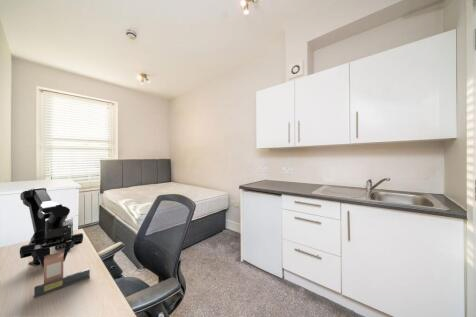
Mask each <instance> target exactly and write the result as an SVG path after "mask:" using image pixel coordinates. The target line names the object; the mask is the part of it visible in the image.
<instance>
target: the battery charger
mask: <svg viewBox="0 0 476 317" xmlns="http://www.w3.org/2000/svg"><path fill="white" fill-rule="evenodd" d="M69 238H71V227H69V226H68V233H65V234H64V238H63V240H65V239H69ZM54 249H55V250H59V249H65V244H63V245H59V246H55V247H54Z"/></svg>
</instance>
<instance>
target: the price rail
mask: <svg viewBox="0 0 476 317" xmlns="http://www.w3.org/2000/svg"><path fill="white" fill-rule="evenodd" d="M90 271H91V270H90V268H87V269H84V270H81V271H78V272H75V273H73V274H69V275H66V276H63V278H60V279H57V280H54V281H51V282H48V283H45V284H44V283H43V284H39V285H36V286H34V289H33V298H34V299H35V298H38V297H40V296H43V295H46V294H49V293H51V292H54V291H57V290H59V289H63V288H65V287H67V286H71V285H73V284H76V283H80V282H81V281H85V280H87V279H90V278H91V277H90V276H91V275H90V274H91V272H90Z"/></svg>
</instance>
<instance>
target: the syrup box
mask: <svg viewBox="0 0 476 317" xmlns="http://www.w3.org/2000/svg"><path fill="white" fill-rule="evenodd" d="M65 225H68V226H69V227H71V235H74V218H73V217H71V216H70V217H69V216H67V218H66V220H65V221H64V222H63V226H65Z"/></svg>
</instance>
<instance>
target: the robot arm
mask: <svg viewBox="0 0 476 317" xmlns="http://www.w3.org/2000/svg"><path fill="white" fill-rule="evenodd" d="M20 200H21V201H22V204H23V205H24V206H25V207H27V208H28V209H29V215H30V219H31V223H32V227H33V235H32V236H31V238H30V241H29V243H28V244H23V245H22V246H20V248H19V256H20V259H24V258H30V257H32V261H29V262H28V264H29V265H32V266H40V265H41V267H42V269H44V257H45V256H46V255H50V254H51V248H55V246H59V245H63V244H65V248H63V249H64V250H63V256H64V259H63V263H65V261H66V258H67V256H68V254H69V252H70V250H71V249H72V248H74V247H75V246H77V245H81V244H82V243H84V242H83V241H84V240H83V239H84V234H83V233H82V232H81V233H80V232H79V233H75V234H74V233H73V235H71V238H69V239H65V240H63V238H64V234H65V233H68V225H65V226H63V222H64V221H65V220H66V218H67V217H69V215H70V212H71V210H70V208H69V207H67V206H63V204H62V203H61V204H59V203H58V202H56V201H53V200H52V198H51V197H50V195H49V193H48V192H47V188H46V187H43V186H42V187H33V188H30V189H28V190H23V191H22V192H21V193H20Z"/></svg>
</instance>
